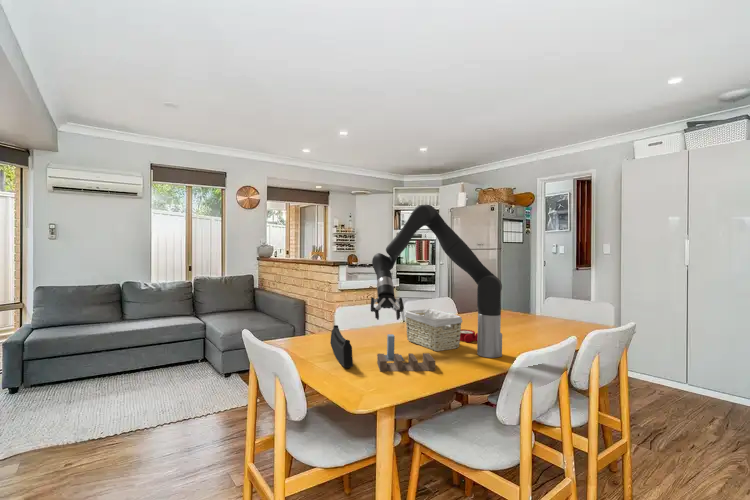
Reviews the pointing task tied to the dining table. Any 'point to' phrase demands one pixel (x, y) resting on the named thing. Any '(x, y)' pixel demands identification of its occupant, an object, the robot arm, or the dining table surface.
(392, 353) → the tile
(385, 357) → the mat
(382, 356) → the rack
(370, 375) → the dining table surface
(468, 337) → the alarm clock
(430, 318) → the storage basket
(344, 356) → the magazine
